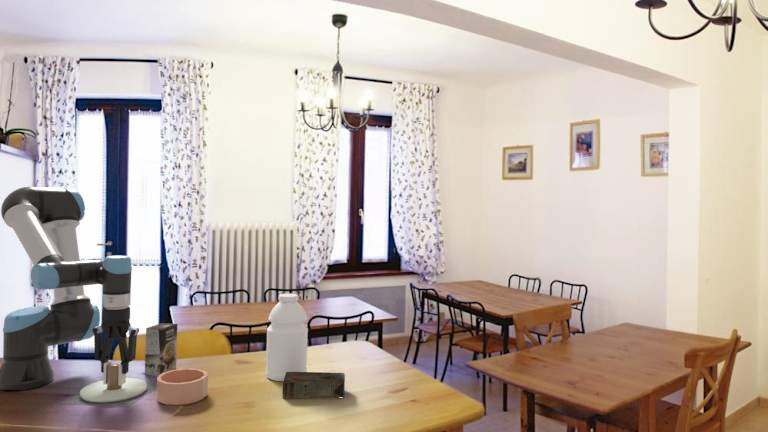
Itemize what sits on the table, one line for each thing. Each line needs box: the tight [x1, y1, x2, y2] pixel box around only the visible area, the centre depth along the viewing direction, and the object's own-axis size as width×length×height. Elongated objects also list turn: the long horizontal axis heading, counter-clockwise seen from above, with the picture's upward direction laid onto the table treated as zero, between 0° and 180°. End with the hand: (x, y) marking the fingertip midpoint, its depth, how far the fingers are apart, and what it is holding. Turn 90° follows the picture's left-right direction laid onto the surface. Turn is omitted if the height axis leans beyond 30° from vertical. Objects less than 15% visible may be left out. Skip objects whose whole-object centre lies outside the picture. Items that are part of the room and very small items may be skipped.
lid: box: [79, 362, 147, 403], centre depth 155 cm, size 18×18×8 cm
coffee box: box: [144, 322, 178, 377], centre depth 176 cm, size 9×6×16 cm
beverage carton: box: [282, 371, 346, 400], centre depth 160 cm, size 8×19×7 cm, turn 95°
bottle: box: [265, 293, 309, 382], centre depth 177 cm, size 14×14×28 cm
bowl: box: [156, 367, 209, 406], centre depth 154 cm, size 14×14×6 cm
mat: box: [60, 379, 157, 408], centre depth 155 cm, size 20×20×1 cm
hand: (114, 383), depth 155 cm, fingers closed on lid, 4 cm apart
